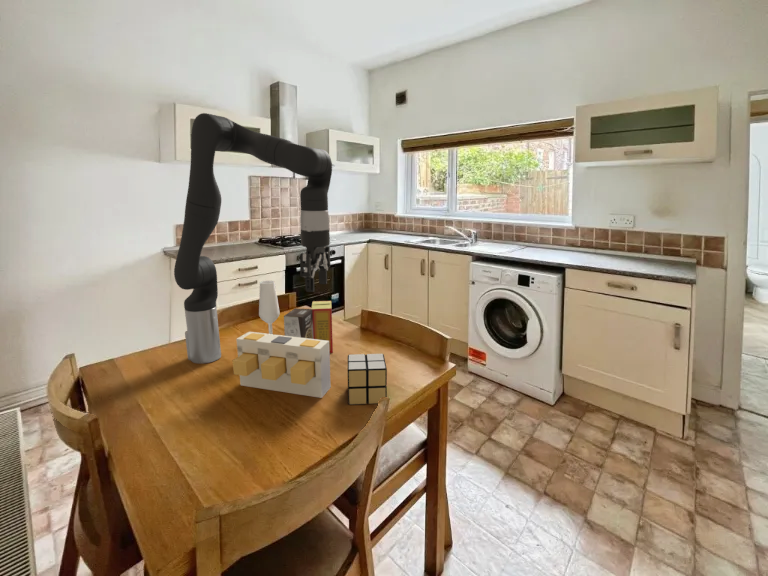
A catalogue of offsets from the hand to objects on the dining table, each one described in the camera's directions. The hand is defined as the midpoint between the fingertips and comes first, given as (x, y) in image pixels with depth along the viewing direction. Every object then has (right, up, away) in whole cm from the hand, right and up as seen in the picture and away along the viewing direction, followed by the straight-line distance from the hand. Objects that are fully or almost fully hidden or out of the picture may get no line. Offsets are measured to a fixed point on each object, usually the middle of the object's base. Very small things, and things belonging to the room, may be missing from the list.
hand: (316, 287), depth 112 cm
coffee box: (-9, -24, +22) cm, 33 cm away
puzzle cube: (+14, -29, 0) cm, 32 cm away
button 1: (-19, -23, 0) cm, 30 cm away
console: (-9, -28, +4) cm, 30 cm away
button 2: (-11, -23, -2) cm, 26 cm away
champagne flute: (-20, -22, +29) cm, 42 cm away
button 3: (-3, -24, -5) cm, 24 cm away
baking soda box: (-3, -21, +31) cm, 38 cm away
